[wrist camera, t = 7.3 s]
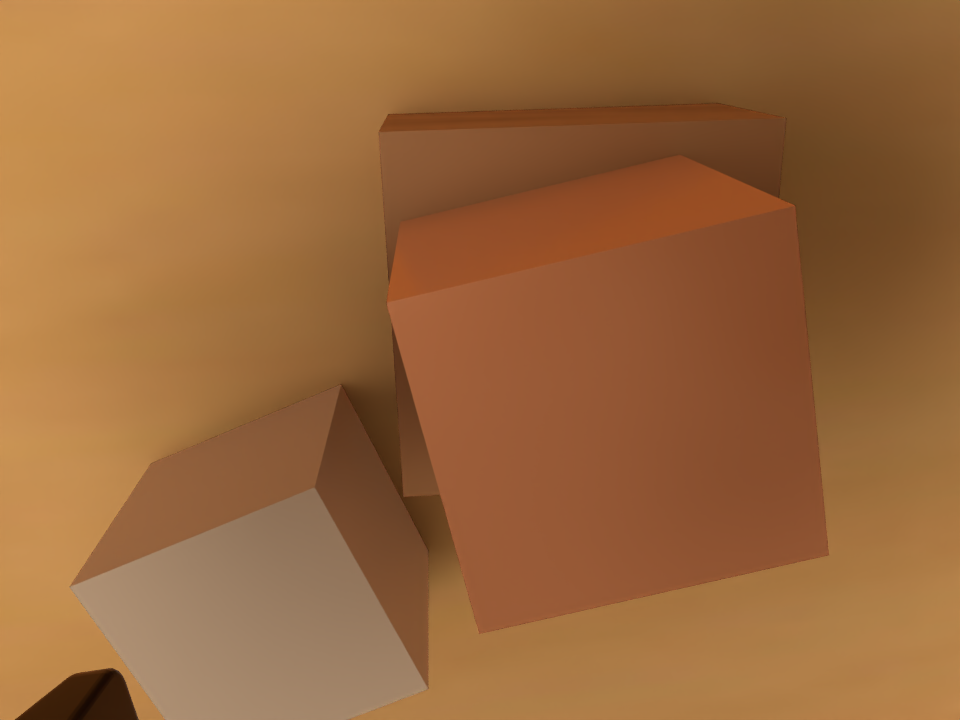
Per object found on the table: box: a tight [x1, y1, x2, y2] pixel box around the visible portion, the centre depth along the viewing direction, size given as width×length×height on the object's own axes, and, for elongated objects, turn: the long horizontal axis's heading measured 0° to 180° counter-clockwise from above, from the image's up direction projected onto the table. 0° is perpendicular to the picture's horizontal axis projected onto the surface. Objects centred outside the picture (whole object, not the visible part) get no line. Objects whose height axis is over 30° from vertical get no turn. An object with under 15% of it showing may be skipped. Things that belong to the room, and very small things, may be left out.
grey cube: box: [70, 384, 428, 720], centre depth 19 cm, size 5×5×5 cm
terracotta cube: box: [386, 155, 829, 634], centre depth 13 cm, size 5×5×5 cm
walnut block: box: [379, 103, 786, 497], centre depth 18 cm, size 7×7×4 cm
